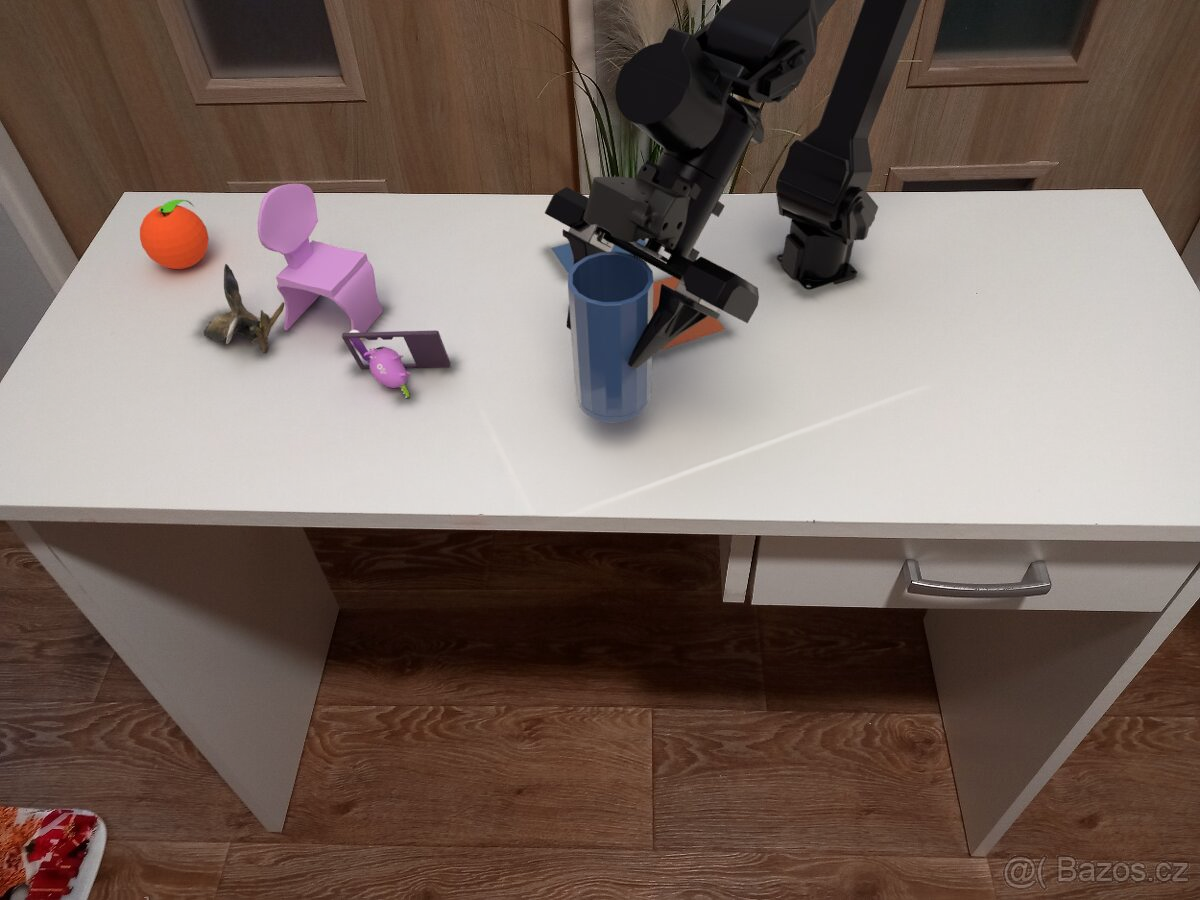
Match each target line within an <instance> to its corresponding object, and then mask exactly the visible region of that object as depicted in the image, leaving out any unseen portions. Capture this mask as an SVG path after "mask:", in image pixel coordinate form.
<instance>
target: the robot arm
mask: <svg viewBox="0 0 1200 900" xmlns="http://www.w3.org/2000/svg"><path fill="white" fill-rule="evenodd" d="M836 2H837V0H729V1H728V2H727V3H726V4H725V5H724V6H723V7H722V8H721V9H720V10H719V11H718V12H717V13H716V14H715V15H714V17H713V18H712V20H710V21H709V22H708V23H706V24H705V25H704V26H702V27H701V28H700V29H698V30H697V31H695V33H693V34H691V33H689V32H686V31H684V30H680V29H678V28H675V27H672V26H670V27H669V28H668V29H667V30H666V32H665V35H664V37H663V39H662V41H661V42H656V43H652V44H648V45H647V46H645V47H643V48H641V49H639V51H637V52H636V53H635V54H634V55H633V56H632V57H631V58H630V59H629V60H628V61H626V62H625V63H624V64H623V66H622V67H621V69H620V71H619V73H618V76H617V79H616V84H615V90H614V91H615V92H614V93H615V102H616V106H617V107H618V110H619V112H620V113H621V115H622V116H623V117H624V118H625V119H626V120H628V121H629V122H630V123H631V124H633V125H634V126H635V127H636V128H638V129H639V130H640V131H641V132H643V133H644V134H645V135H646V136H648V137H649V138H650V139H652V140H653V141H654V142H655V143H656V144H658V145H659V146H660V147H661V148H663V149H662V151H661V153H660V154H659V157H658V159H657V161H656V163H654V162H653V161H649V160H648V159H647V160H646V161H645V163H644V164H642V165H641V166H640V168H639V170H638V172H637V174H636V175H635V176H634V177H626V176H595V177H593V180H592V183H591V187H590V190H589V194H588V197H587V196H585V195H583V194H582V193H580V192H578V191H576V190H574V189H572V188H570V187H568V186H565V187H563V188H562V189H560V190H558V191H557V192H555V193H554V194H553V195H552V197H551V199H550V201H549V202H548V205H547V207H546V209H545V211H544V214H545V215H546V216H548V217H550V218H552V219H554V220H556V221H558V222H559V223H561V224H563V225H565V226H567V227H568V228H569V229H568V230H567V229H564V228H563V229H562V237H564V238H565V239H567V241H568V243H570V247H571V250H572V254H573V258H574V264H575V263H577V262H578V261H580V260H582V259H583V258H585V257H586V256H590V255H593V254H596V253H600V252H611V250H612V248H613V246H614V245H616V246H618V247H620V248H621V249H623V250H625V251H627V252H629V253H631V254H632V255H634V256H636V257H638V258H640V259H641V260H643V261H645V262H646V263H647V264H648V265H651V266H653V267H655V268H657V269H658V270H660V271H662V272H664V273H666V274H668V275H669V276H670V277H675V278H677V279H679V280H680V281H679V283H678V285H677V287H676V289H675V290H674V289H672V288H670V287H668V286H666V285H664V284H662V285H661V290H660V298H659V305H658V307H657V309H656V311H655V313H654V314H653V316H652V318H651V320H650V321H649V323H648V325H647V327H646V328H645V330H644V332H643V334H642V335H641V337H640V339H639V341H638V343H637V344H636V346H635V348H634V350H633V352H632V355H631V357H630V360H629V362H628V366H630V367H632V368H635V369H636V368H638V367H639V366H641V365H642V364H643V363H644V362H646V361H647V360H648V359H649V358H651V357H652V358H653V357H654V356H655V355H656V354H658V352H660V351H662V350H663V349H662V348H663V347H664V346H666V345H667V344H668V343H670V342H671V341H672V340H673V339H675V338H676V337H677V336H679V335H680V334H682V333H683V332H685V331H686V330H688V329H689V328H691V327H692V326H694V325H696V324H697V323H699V322H700V321H702V320H703V319H705V318H707V317H709V316H710V317H712V318H714V319H716V320H719V318H720V316H721V314H720V313H718V311H719V310H721V311H723V312H724V313H727V314H729V315H730V316H732V317H734V318H736V319H738V320H740V321H742V322H744V323H746V324H748V323H749V322H750V320H751V318H752V316H753V315H754V313H755V311H756V309H757V308H758V306H759V301H760V300H759V299H760V295H759V287H757V286H756V285H754V284H752V283H751V282H749V281H748V280H746V279H744V278H742V277H741V276H740V275H738V274H736V273H734V272H733V271H731V270H728V269H727V268H725V267H723V266H720V265H719V264H717V263H715V262H713V261H711V260H710V259H707V258H705V257H703V256H700V257H699V255H700V251H699V250H698V249H696V248H694V247H695V246H696V244H697V241H698V240H699V237H700V236H701V233H702V232H703V231H704V229H705V228H706V225H707V223H708V221H709V219H710V217H712V215H713V216H714V217H717V218H719V217H720V215H721V214H722V212H723V210H724V208H725V205H724V204H723V203H722V202H721V201H719V200H720V199H721V196H722V195H723V194H724V191H725V189H726V187H727V185H728V184H729V181H730V180H731V178H732V176H733V174H734V172H735V171H736V168H737V167H738V165H739V163H740V162H741V159H742V157H743V156H744V154H745V152H746V150H747V148H748V146H749V145H750V143H751V142H753V143H755V144H758V145H760V144H762V143H763V141H764V139H765V135H764V134H765V127H764V125H763V122H762V117H761V116H762V108H761V107H760V106H757V105H754V104H752V103H750V102H747V101H744V100H742V99H740V100H739V99H737V98H736V97H735V96H738V97H740V98H743V99H746V100H748V101H751V102H753V103H756V104H761V103H767V104H770V103H777V104H779V103H780V102H782V101H784V100H785V99H786V98H787V97H788V96H789V95H790V94H791V93H792V92H793V91H794V90H796V89H797V88H798V87H799V85H800V84H801V82H802V80H803V78H804V76H805V75H806V72H807V69H808V67H809V65H810V64H811V62H812V61H813V59H814V57H815V56H816V53H817V43H818V29H819V26H820V25H821V23H822V21H823V19H824V18H825V16H826V15H827V13H828V12H829V10H830V9H831V8H832V7H833V5H834V4H835V3H836ZM921 2H922V0H863V2H862V5H861V7H860V10H859V12H858V16H857V18H856V21H855V24H854V27H853V29H852V32H851V35H850V38H849V40H848V44H847V46H846V49H845V51H844V55H843V57H842V60H841V63H840V65H839V68H838V71H837V74H836V77H835V79H834V82H833V85H832V88H831V90H830V93H829V96H828V98H827V102H826V104H825V107H824V110H823V112H822V115H821V118H820V120H819V123H818V124H817V126H816V127H815V128H814V129H813V130H812V131H811V132H809V133H808V134H807V135H806V136H805V137H804V138H802V139H801V140H800V139H796V140H795V141H794V142H793V143H792V144H791V145H790V146H789V148H788V152H787V155H786V159H785V163H784V165H783V167H782V168H781V170H780V172H779V174H778V176H777V179H776V184H775V194H776V201H777V208H778V214H779V215H780V216H782V217H786V218H788V219H791V221H790V228H789V233H788V234H786V236H785V238H784V239H785V240H784V246H783V252H782V253H781V254H778V255H776V260H777V262H779V263H780V264H781V267H782V268H783V269H784V271H785V272H786V273H787V274H788V275H789V276H790V277H791V278H792V279H793V280H796V282H798V283H799V285H801V286H802V287H803V288H804V289H805V290H807V291H811V290H814V289H817V288H820V287H824V286H826V285H830V284H834V285H835V284H839V283H842V282H845V281H848V280H852V279H854V278H856V277H857V275H858V271H857V270H856V268H854V267H853V266H852V265H851V263H850V261H851V256H852V252H853V247H854V243H855V241H864V240H865V239H867V238H868V234H869V230H870V228H871V227H872V225H873V223H874V221H875V219H876V215H877V212H878V209H879V205H878V204H877V203H876V202H875V201H874V199H873V198H872V197H871V195H869V193H868V192H867V189H868V187H869V183H870V180H871V177H872V174H873V164H872V157H871V153H870V152H871V151H870V146H869V137H870V133H871V131H872V129H873V128H872V127H873V125H874V124H875V120H876V118H877V115H878V112H879V110H880V108H881V105H882V103H883V100H884V98H885V96H886V93H887V90H888V87H889V85H890V82H891V80H892V77H893V76H894V75H893V74H894V72H895V70H896V68H897V64H898V62H899V60H900V56H901V54H902V51H903V49H904V47H905V44H906V41H907V38H908V36H909V33H910V31H911V28H912V26H913V24H914V21H915V18H916V15H917V13H918V10H919V8H920V5H921ZM731 94H733V95H735V96H733V95H731ZM639 239H641V240H643V241H644V242H645V241H646V240H647V242H646V245H645V246H643V245H641V244H639V243H638V242H637V241H638V240H639ZM633 245H635V246H636V247H635V246H633ZM637 247H638V248H637ZM639 248H640V249H639ZM662 248H663V251H664V252H666V253H667V254H669V258H667V257H665V256H664V255H663V254H660V251H661V249H662ZM641 249H642V250H641ZM573 266H574V265H573ZM565 326H566V328H567V329H568V330H571V322H570V308H569V307H568V309H567V317H566V325H565ZM661 349H662V350H661Z"/></svg>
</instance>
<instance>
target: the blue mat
mask: <svg viewBox="0 0 1200 900" xmlns="http://www.w3.org/2000/svg"><path fill="white" fill-rule="evenodd" d="M637 242H638V243H639V244H641V245H643V246H645V245H646V244H647V242H645V241H643V240H641V239H639V240H638V241H637ZM633 246H635V245H633ZM635 247H636V246H635ZM637 248H638V247H637ZM639 249H640V248H639ZM551 250H552V252H553V253H554V255H555V256H556V258H557V259H558V260H559V262H560V264H561V265H562V266H563V268H564V270H565V271H566V272H567V273H569V272H570V270H571V269H572V267H573V265H574V258H573V254H572V250H571V247H570V243H569V242H568V243H564V244H561V245H558V246H554V247H551ZM641 250H642V249H641ZM611 252H622V253H627V254H631V253H629V252H627V251H625V250H623V249H621V248H620V247H618V246H616V245H614V246H613V248H612V250H611ZM631 255H632V254H631Z"/></svg>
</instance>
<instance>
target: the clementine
mask: <svg viewBox="0 0 1200 900" xmlns="http://www.w3.org/2000/svg"><path fill="white" fill-rule="evenodd" d="M182 202H187V203H188V204H190V205H191V206H192V207H193V208H195V206H194V204H193V203H192V202H191V201H189V200H187V199H173V200H170V201H167V202H166V203H164V204H163V205H160V206H157V207H155V208H153V209H152V210H150V211H149V212H148V213H147V214H146V215H145V216H144V218H143V220H142V221H141V225H140V226H139V227H140V228H139V240H140V243H141V247H142V249H143V250H144V251H145V253H146V255H147V256H148V257H149V258H150V259H151V260H152V261H153V262H155V263H156V264H158V265H160V266H162V267H164V268H168V269H175V270H182V269H187V268H190V267H193V266H195V265H197V263H198V262H200V261H201V260H202V259H203V257H204V256H205V254H206V253H207V251H208V247H209V241H210V240H209V239H210V238H209V233H208V229H207V226H206V225H205V223H204V222H203V220H202V218H201V217H200V216H199V215H198V214H197V213H195V212H194V211H192V210H191V209H189V208H187V207H185V206H182V205H179V204H181V203H182Z"/></svg>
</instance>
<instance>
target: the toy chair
mask: <svg viewBox="0 0 1200 900" xmlns="http://www.w3.org/2000/svg"><path fill="white" fill-rule="evenodd" d="M317 208H318V207H317V202H316V197H315V194H314V192H313V190H312V189H311V187H310V186H308V185H306V184H304V183H287V184H282V185H278V186H276V187H274V188H271V189H269V191H268V192H266V193H265V195H264V196H263V198H262V200H261V203H260V206H259V209H258V210H259V211H258V216H257V236H258V239H259V242H260V244H261V245H262V246H263V247H264V249H267V250H269V251H271V252H275V253H279V254H281V255H283V257H284V259H285V261H286V263H287V265H286V266H285V267H284V268H283V269H282V270H281V271H280V272H279V273H278V274H277V275H275V278H276V282H277V285H276V289H277V290H278V292H279V293H280V295H281V296H282V298H283V301H284V303H285V305H284V306H285V316H284V317H285V318H284V324H283V331H288V330H289V329H290V328H291V327H292V326H293V325H294V324H295V323H296V322H297V320H298V319H300V317H302V315H303V314H304V313H305V312H307V310H308V309H309V308H310V307H311V306H312V305H313V304H314V302H316V300H317V299H318V298H319V297H320V296H322V297H325V298H328V299H330V300H332V301H333V302H334V303H335V304H336V305H337V306H338V307H339V308H340V309H342V310H343V311H344V312H345V313H346V315H347V316H348V318H349V319H350V327H351V328H350V331H351V330H358V331H359V332H368V330H369V329H370V327H372V325H373V324H374V323H375V322H376V321H377V320H378V319H379V317H380V316H381V315H382V314H383V312H384V309H383V307H382V305H381V303H380V300H379V297H378V292H377V286H376V278H375V270H374V267H373V264H372V263H371V262H370V260H369V259H368V256H367V255H368V254H367V253H366V252H363V251H359V250H354V249H348V248H343V247H338V246H334V245H331V244H328V243H325V242H321V241H316V240H311V241H310V236H311V235H312V233H313V231H314V230H315V228H316V226H317V224H318V222H319V218H318V209H317ZM350 342H351V344H352V346H353V347H355V345H354V344H353V342H352V341H351V340H350Z"/></svg>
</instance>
